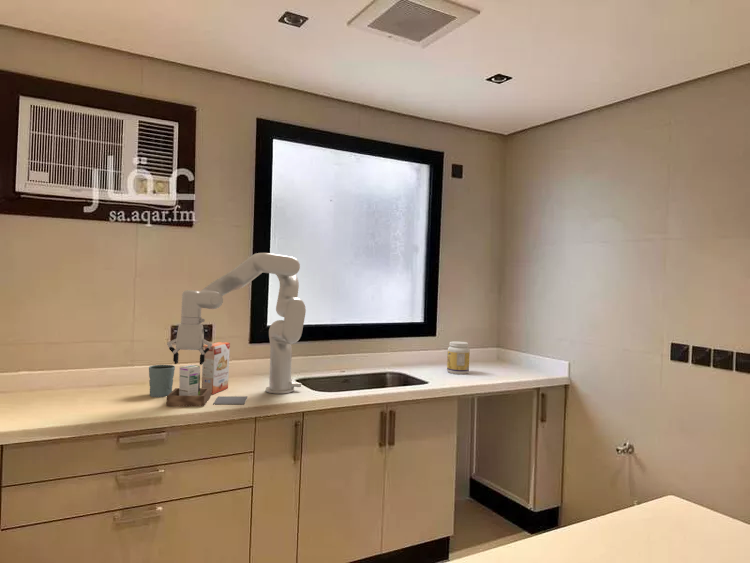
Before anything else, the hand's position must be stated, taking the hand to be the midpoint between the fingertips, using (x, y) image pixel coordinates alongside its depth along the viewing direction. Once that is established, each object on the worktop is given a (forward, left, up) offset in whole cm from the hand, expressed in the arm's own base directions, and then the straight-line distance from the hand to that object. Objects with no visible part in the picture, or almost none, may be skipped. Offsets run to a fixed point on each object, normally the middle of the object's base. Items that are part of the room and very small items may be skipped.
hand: (188, 363), depth 208 cm
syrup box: (0, 0, -16) cm, 16 cm away
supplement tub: (-131, -65, -16) cm, 147 cm away
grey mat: (-16, -2, -15) cm, 23 cm away
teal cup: (+14, -13, -16) cm, 24 cm away
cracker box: (-7, -20, -16) cm, 26 cm away
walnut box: (0, 0, -15) cm, 15 cm away
